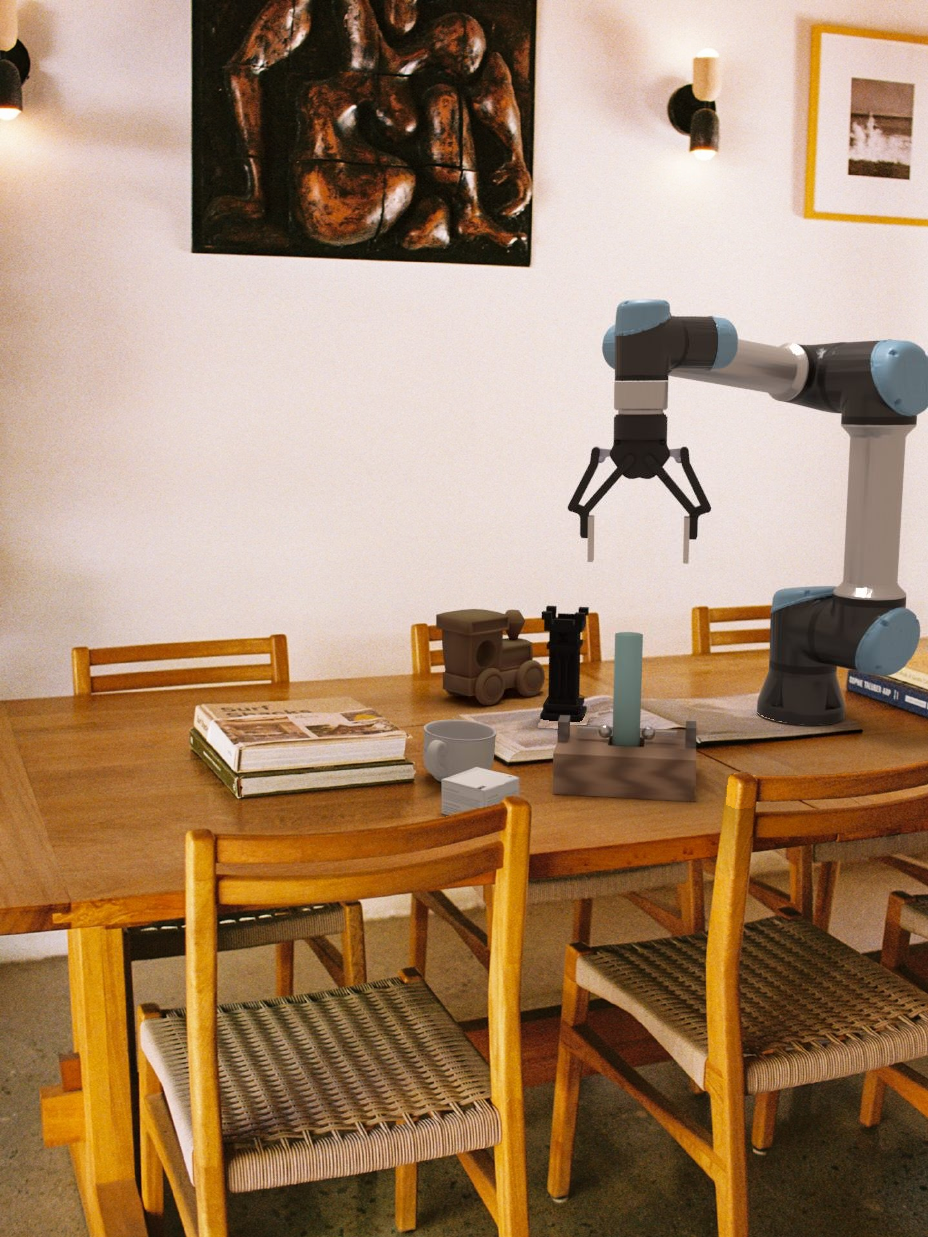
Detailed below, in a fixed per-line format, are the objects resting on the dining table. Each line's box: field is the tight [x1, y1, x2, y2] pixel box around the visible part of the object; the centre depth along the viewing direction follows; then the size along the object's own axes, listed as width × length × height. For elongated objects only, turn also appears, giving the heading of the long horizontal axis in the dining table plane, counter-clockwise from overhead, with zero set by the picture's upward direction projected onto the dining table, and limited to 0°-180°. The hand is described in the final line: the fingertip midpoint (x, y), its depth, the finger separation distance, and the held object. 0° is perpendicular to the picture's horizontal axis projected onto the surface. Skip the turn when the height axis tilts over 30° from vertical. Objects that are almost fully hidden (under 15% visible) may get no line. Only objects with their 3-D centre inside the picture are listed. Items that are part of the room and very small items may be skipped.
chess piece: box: [539, 605, 590, 722], centre depth 215 cm, size 8×8×20 cm
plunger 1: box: [577, 723, 612, 738], centre depth 184 cm, size 5×2×2 cm, turn 80°
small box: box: [440, 767, 520, 816], centre depth 171 cm, size 8×8×5 cm
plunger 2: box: [642, 725, 677, 740], centre depth 183 cm, size 5×2×2 cm, turn 80°
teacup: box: [422, 719, 498, 783], centre depth 184 cm, size 14×11×8 cm
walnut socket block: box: [552, 715, 698, 803], centre depth 184 cm, size 20×16×9 cm
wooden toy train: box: [435, 608, 545, 707], centre depth 234 cm, size 20×11×17 cm, turn 131°
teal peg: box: [612, 631, 644, 747], centre depth 183 cm, size 4×4×22 cm
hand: (637, 561), depth 181 cm, fingers open, 13 cm apart
